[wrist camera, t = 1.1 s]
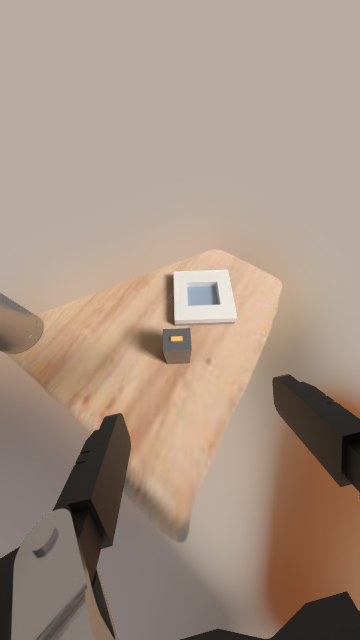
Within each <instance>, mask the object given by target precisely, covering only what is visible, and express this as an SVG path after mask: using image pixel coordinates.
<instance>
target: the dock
mask: <svg viewBox="0 0 360 640" xmlns="http://www.w3.org/2000/svg"><path fill="white" fill-rule="evenodd" d="M174 317H175V325H203V324H231V323H235V321H236V320H237V313H236V308H235V303H234V298H233V293H232V288H231V283H230V278H229V273H228V270H206V271H177V272H174Z"/></svg>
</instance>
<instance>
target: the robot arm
mask: <svg viewBox="0 0 360 640" xmlns="http://www.w3.org/2000/svg"><path fill="white" fill-rule="evenodd" d="M42 332H43V322H42V320H41V319H40V318H39V317H38V316H36V315H35V314H33V313H31V312H30V311H28V310H27V309H25V308H24V307H22V306H20V305H18V304H17V303H16V302H14V301H12V300H11V299H9V298H8V297H6V296H4V295H3V294H1V293H0V351H2V352H5V353H10V354H16V353H20V352H23V351H25V350H27V349H29V348H30V347H32V346H33V345H34V344H35V343H36V342H37V341H38V339H39V338H40V337H41V334H42ZM273 395H274V404H275V407H276V409H277V411H278V413H279V415H280V416H281V417H282V418H283V419H284V421H285V422H286V423H287V424H288V425H289V427H290V428H291V429H292V430H293V431H294V433H295V434H296V435H297V436H298V437H299V438H300V440H301V441H302V442H303V443H304V444H305V446H306V447H307V448H308V449H309V450H310V451H311V453H312V454H313V455H314V456H315V457H316V458H317V460H318V461H319V462H320V463H321V465H322V466H323V467H324V468H325V469H326V470H327V472H328V473H329V474H330V475H331V476H332V478H333V479H334V480H335V481H336V482H337V483H338V484H339V486H340V487H342V486H346V485H350V484H353V485H354V487H355V488H356V489H357V490H358V491H359V500H360V419H359V418H357V417H356V416H355V415H353V414H352V413H351V412H349V411H348V410H346V409H345V408H343V407H342V406H341V405H340V404H338V403H335V402H334V400H333V399H331V398H330V397H328V396H326V395H325V394H324V393H323V392H321V391H320V390H319V389H317V388H316V387H314V386H312V385H309V384H307V383H305V382H299V381H297V380H296V379H295V378H294V377H292V376H291V375H289V374H286V375H282V376H278V377H274V378H273ZM130 450H131V441H130V436H129V433H128V430H127V427H126V424H125V421H124V418H123V415H122V414H121V413H118V414H114V415H110V416H106V417H105V418H104V419H103V422H102V424H101V426H100V429H99V430H95V431H94V432H93V433H92V434H91V436H90V437H89V438H88V439H87V440H86V442H85V444H84V446H83V448H82V450H81V452H80V455H79V457H78V459H77V461H76V465H75V466H74V467H73V469H72V471H71V473H70V476H69V478H68V480H67V482H66V484H65V486H64V488H63V490H62V492H61V495H60V497H59V499H58V501H57V503H56V505H55V507H54V509H53V511H52V512H51V513H49V514H47V515H46V516H45V517H44V518H42V519H41V520H40V521H39V522H38V523H37V524H36V525H35V526H34V527H33V528H32V530H31V531H30V532H29V533H28V535H27V536H26V538H25V539H24V541H23V543H22V544H21V546H20V547H18V548H17V549H15V550H14V551H12V552H10V553H9V554H7V555H5V556H4V557H2V558H0V640H119V638H118V635H117V632H116V628H115V625H114V621H113V618H112V614H111V611H110V607H109V604H108V600H107V597H106V594H105V590H104V586H103V583H102V580H101V576H100V573H99V569H98V567H97V563H98V559H99V555H100V550H101V549H102V548H106V547H110V546H112V545H113V540H114V534H115V529H116V524H117V519H118V513H119V508H120V503H121V498H122V492H123V487H124V482H125V477H126V471H127V466H128V461H129V456H130ZM181 640H360V611H359V610H358V609H357V608H356V606H355V604H354V602H353V601H352V599H351V597H350V596H349V594H348V592H343V593H340V594H336V595H333V596H329V597H326V598H322V599H319V600H315V601H312V602H309V603H306V604H305V605H304V606H303V607H302V608H301V609H300V610H299V611H298V612H297V613H296V614H295V615H294V616H293V617H292V618H291V619H290V620H289V621H288V622H287V623H286V624H285V625H284V626H283V627H282V628H281V629H280V630H279V631H278V632H277V633H276V634H275V635H274V636H273V637H272V638H270V639H262V638H257V637H252V636H248V635H244V634H239V633H235V632H230V631H226V630H221V629H216V630H213V631H209V632H205V633H202V634H198V635H195V636H191V637H188V638H185V639H181Z"/></svg>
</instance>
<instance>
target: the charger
mask: <svg viewBox="0 0 360 640" xmlns="http://www.w3.org/2000/svg"><path fill="white" fill-rule="evenodd" d="M163 353H164V356H165V359H166V361H167V364H178V363H190V356H191V334H190V328H187V329H163Z"/></svg>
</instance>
